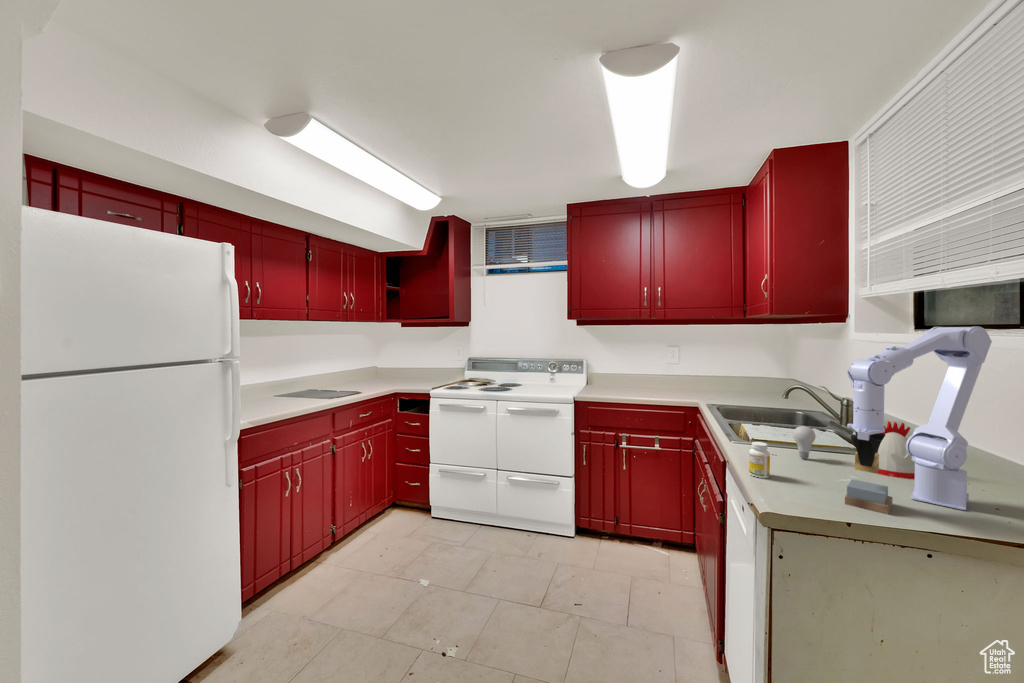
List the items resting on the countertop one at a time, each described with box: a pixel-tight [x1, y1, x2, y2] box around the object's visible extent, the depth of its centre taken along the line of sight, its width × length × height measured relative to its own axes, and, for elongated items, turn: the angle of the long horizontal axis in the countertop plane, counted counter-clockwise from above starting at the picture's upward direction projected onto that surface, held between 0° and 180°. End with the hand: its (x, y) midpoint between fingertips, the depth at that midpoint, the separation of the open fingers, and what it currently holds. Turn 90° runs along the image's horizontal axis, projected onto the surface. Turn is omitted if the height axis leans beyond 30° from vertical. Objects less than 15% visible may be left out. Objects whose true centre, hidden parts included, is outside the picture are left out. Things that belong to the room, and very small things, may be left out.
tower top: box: [846, 478, 889, 505], centre depth 103 cm, size 7×7×2 cm
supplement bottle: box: [748, 441, 771, 479], centre depth 124 cm, size 5×5×10 cm
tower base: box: [844, 493, 894, 515], centre depth 103 cm, size 8×8×2 cm
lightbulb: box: [792, 425, 816, 460], centre depth 138 cm, size 6×6×11 cm
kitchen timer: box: [876, 420, 915, 480], centre depth 126 cm, size 14×14×15 cm
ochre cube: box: [854, 451, 879, 474], centre depth 103 cm, size 4×4×4 cm
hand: (867, 463), depth 103 cm, fingers closed on ochre cube, 4 cm apart
